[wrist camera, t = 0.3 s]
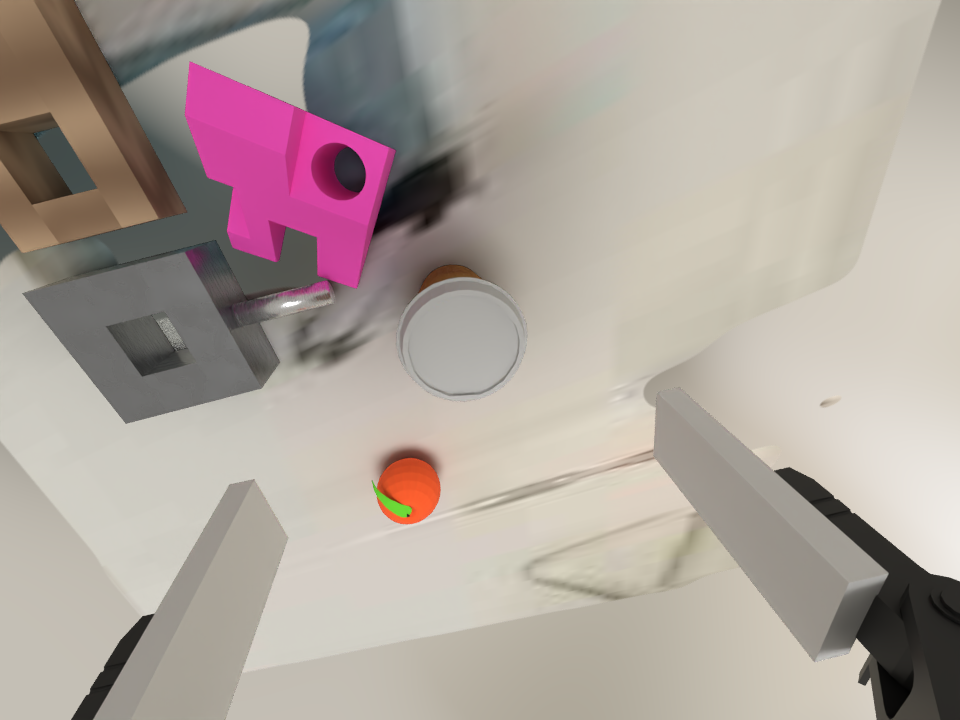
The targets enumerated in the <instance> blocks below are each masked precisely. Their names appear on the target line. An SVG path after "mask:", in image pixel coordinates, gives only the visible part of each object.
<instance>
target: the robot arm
mask: <svg viewBox="0 0 960 720" xmlns="http://www.w3.org/2000/svg"><path fill="white" fill-rule="evenodd" d="M656 399H657V400H656V417H655V436H654V457H655V458H656V460H657V461H658V462H659V464H660V465H661V466H662V467H663V469H664V470H665V471H666V473H667V474H668V475H669V476H670V478H671V479H672V480H673V482H674V483H675V484H676V485H677V487H678V488H679V489H680V491H681V492H682V493H683V494H684V496H685V497H686V498H687V499H688V501H689V502H690V503H691V505H692V506H693V507H694V508H695V510H696V511H697V512H698V514H699V515H700V516H701V517H702V519H703V520H704V521H705V523H706V524H707V525H708V526H709V528H710V529H711V530H712V532H713V533H714V534H715V535H716V537H717V538H718V539H719V541H720V542H721V543H722V544H723V546H724V547H725V548H726V550H727V551H728V552H729V553H730V555H731V556H732V557H733V558H734V560H735V561H736V562H737V564H738V565H739V566H740V567H741V569H742V570H743V571H744V572H745V574H746V575H747V576H748V578H749V579H750V580H751V582H752V583H753V584H754V585H755V587H756V588H757V589H758V591H759V592H760V593H761V594H762V596H763V597H764V598H765V600H766V601H767V602H768V603H769V605H770V606H771V607H772V608H773V610H774V611H775V612H776V614H777V615H778V616H779V617H780V619H781V620H782V621H783V623H784V624H785V625H786V626H787V627H788V629H789V630H790V632H791V633H792V634H793V635H794V637H795V638H796V639H797V641H798V642H799V643H800V644H801V645H802V647H803V648H804V649H805V651H806V652H807V653H808V654H809V656H810V657H811V658H812V660H813V661H814V662H818V661H821V660H825V659H829V658H833V657H838V656H842V655H846V654H848V653H849V652H850V650H851V647H852V645H853V644H854V642H855V640H856V638H857V639H858V640H859V641H860V642H861V644H862V645H863V646H864V647H865V648H866V649H867V650H868V651H869V652H870V655H869V657H868V658H867V660H866V662H865V664H864V666H863V668H862V669H861V671H860V674H859V681H858V683H860V684H862V685H866V684H867V682H868V680H869V678H870V677H871V684H872V691H873V697H874V704H875V711H876V718H877V720H960V581H957V580H954V579H952V578H949V577H944V576H938V575H933V574H930V573H928V572H927V571H926V570H924V569H923V568H921V567H920V566H919V565H917V564H916V563H915V562H914V561H912V560H911V559H910V558H909V557H908V556H906V555H905V554H904V553H903V552H901V551H900V550H899V549H898V548H897V547H895V546H894V545H893V544H892V543H891V542H889V541H888V540H887V539H886V538H884V537H883V536H882V535H881V534H879V533H878V532H877V531H876V530H875V529H873V528H872V527H871V526H870V525H869V524H867V523H866V522H865V521H864V520H862V519H861V518H860V517H859V516H858V515H856V514H855V513H851V511H850V509H849V508H848V507H847V506H845V505H844V504H843V503H842V502H840V501H839V500H838V499H835V498H834V496H833V495H832V494H831V493H829V492H828V491H827V490H826V489H824V488H823V487H822V486H821V485H820V484H819V483H817V482H816V481H815V480H814V479H812V478H810V477H807V476H806V475H804V474H802V473H799V472H798V471H795V470H794V469H792V468H790V467H789V468H784V469H779V470H776V471H773V470H772V469H771V468H770V467H769V466H768V465H766V464H765V463H764V462H763V461H762V460H761V459H760V458H759V457H757V456H756V455H755V454H754V453H753V452H752V451H751V450H750V449H748V448H747V447H746V446H745V445H744V444H743V443H741V441H739V440H738V439H737V438H736V437H735V436H734V435H733V434H732V433H730V432H729V431H728V430H727V429H726V428H725V427H724V426H723V425H721V424H720V423H719V422H718V421H717V420H716V419H715V418H714V417H712V416H711V415H710V414H709V413H708V412H707V411H706V410H705V409H703V408H702V407H701V406H700V405H699V404H698V403H697V402H695V401H694V400H693V399H692V398H691V397H690V396H689V395H688V394H687V393H685V392H684V391H683V390H682V389H681V388H680V387H677V388H672V389H668V390H663V391H659V392H657V398H656ZM287 540H288V536H287V535H286V533H285V531H284V529H283V528H282V526H281V524H280V523H279V521H278V519H277V517H276V516H275V514H274V512H273V511H272V509H271V507H270V505H269V504H268V502H267V500H266V498H265V497H264V495H263V493H262V492H261V490H260V488H259V486H258V485H257V483H256V481H255V479H253V480H249V481H244V482H239V483H235V484H230V485H229V487H228V488H227V490H226V492H225V494H224V495H223V497H222V499H221V501H220V502H219V504H218V506H217V507H216V509H215V511H214V513H213V514H212V516H211V518H210V519H209V521H208V523H207V525H206V526H205V528H204V530H203V532H202V533H201V535H200V537H199V538H198V540H197V542H196V544H195V545H194V547H193V549H192V550H191V552H190V554H189V556H188V557H187V559H186V561H185V562H184V564H183V566H182V568H181V569H180V571H179V573H178V575H177V576H176V578H175V580H174V581H173V583H172V585H171V587H170V588H169V590H168V592H167V593H166V595H165V597H164V599H163V600H162V602H161V604H160V606H159V607H158V609H157V611H156V612H155V614H151V615H146V616H142V617H141V619H140V620H139V621H138V622H137V623H136V624H135V625H134V626H133V627H132V628H131V630H130V631H129V632H128V633H127V634H126V635H125V636H124V637H123V638H122V639H121V640H120V642H119V643H118V645H117V647H116V648H115V650H114V651H113V653H112V655H111V656H110V658H109V660H108V661H107V663H106V664H105V666H104V671H103V672H101V673H100V674H99V676H98V677H97V679H96V680H95V682H94V684H93V685H92V687H91V688H90V694H89V695H86V697H85V698H84V700H83V701H82V703H81V705H80V706H79V708H78V710H77V711H76V713H75V714H74V716H73V718H72V719H71V720H225V719H226V716H227V713H228V710H229V707H230V705H231V701H232V699H233V696H234V693H235V690H236V687H237V684H238V681H239V678H240V676H241V673H242V670H243V667H244V664H245V661H246V658H247V655H248V653H249V650H250V647H251V644H252V641H253V638H254V635H255V632H256V629H257V627H258V624H259V621H260V618H261V615H262V612H263V609H264V606H265V604H266V601H267V598H268V595H269V592H270V589H271V586H272V583H273V580H274V578H275V575H276V572H277V569H278V566H279V563H280V560H281V557H282V554H283V552H284V549H285V546H286V543H287Z"/></svg>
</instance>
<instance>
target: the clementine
mask: <svg viewBox="0 0 960 720" xmlns="http://www.w3.org/2000/svg"><path fill="white" fill-rule="evenodd" d="M372 483H373V481H372ZM373 488H374V491H375V493H376V495H377V500H378V504H379V506H380V508H381V510H382V512H383V513H384V514H385V515H386V516H387V517H388V518H390V519H391V520H393V521H394V522H397V523H400V524H413V523H417V522H420V521H421V520H423V519H425V518H426V517H427V516H428V515H430V514H431V513H432V512H433V510H434V509H435V507H436V505H437V503H438V501H439V497H440V482H439V478H438V476H437V473H436V472H435V471H434V469H433V468H432V467H431V466H430V465H429V464H428V463H426V462H425V461H422V460H419V459H415V458H405V459H401V460H398V461H396V462H394V463H392V464H391V465H390V466H389V467H388V468H386V470H385V471H384V472H383V473H382V475H381V477H380V479H379V482H378V486H377V488H376V487H375V485H374V483H373Z"/></svg>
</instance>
